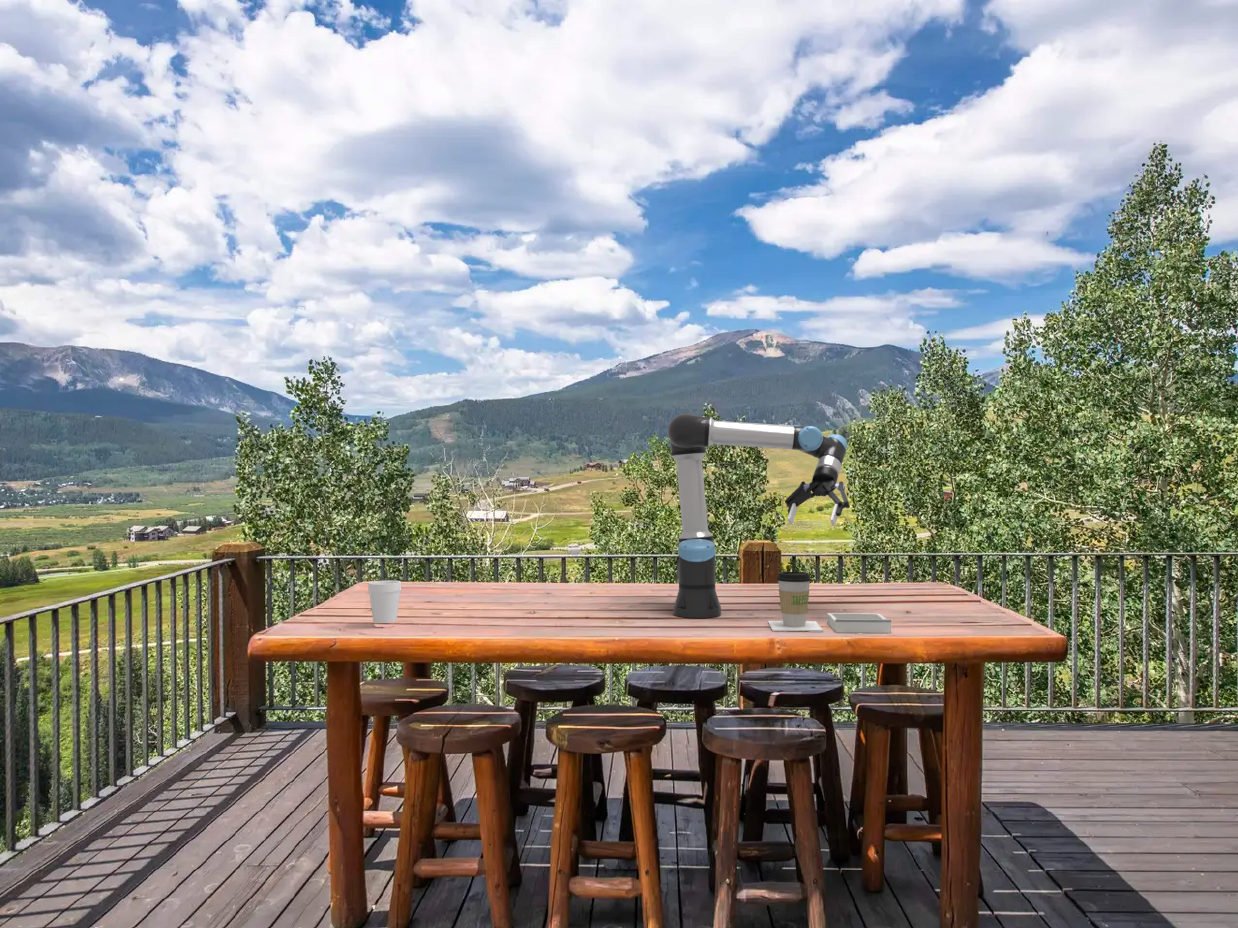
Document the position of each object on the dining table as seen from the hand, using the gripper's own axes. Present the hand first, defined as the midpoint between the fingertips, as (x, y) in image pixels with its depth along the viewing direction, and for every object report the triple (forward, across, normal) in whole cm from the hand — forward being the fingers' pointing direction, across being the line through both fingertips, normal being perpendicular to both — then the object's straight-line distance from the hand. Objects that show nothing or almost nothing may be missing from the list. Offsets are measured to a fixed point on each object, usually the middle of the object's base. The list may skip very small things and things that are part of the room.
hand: (810, 522), depth 249 cm
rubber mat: (+32, 0, -10) cm, 33 cm away
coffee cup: (+32, 0, -10) cm, 33 cm away
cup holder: (+26, -16, -16) cm, 35 cm away
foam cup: (+75, +104, +32) cm, 133 cm away
